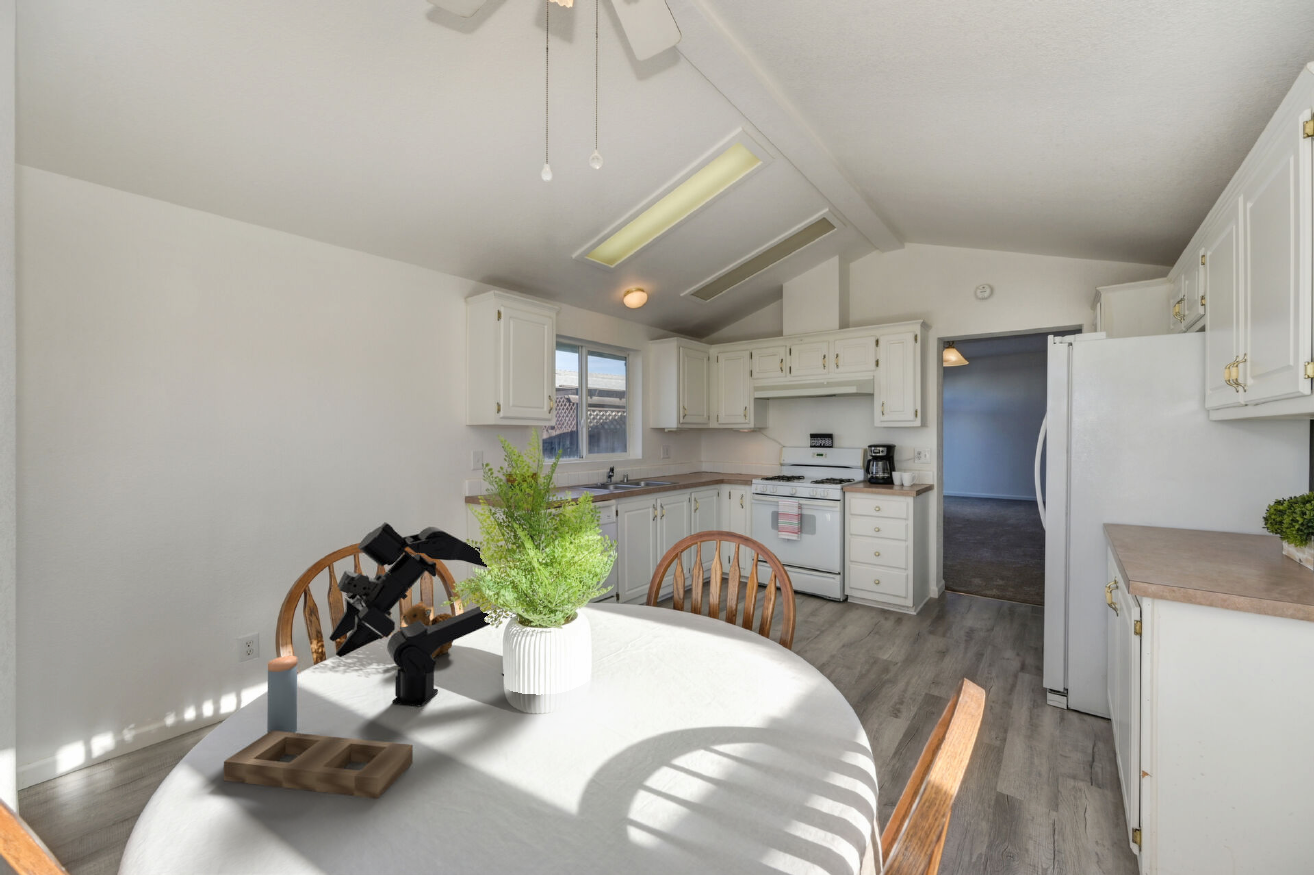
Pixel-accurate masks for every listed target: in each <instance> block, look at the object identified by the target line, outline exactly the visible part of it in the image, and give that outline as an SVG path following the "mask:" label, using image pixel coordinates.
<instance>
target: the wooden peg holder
mask: <svg viewBox="0 0 1314 875" xmlns="http://www.w3.org/2000/svg"><path fill="white" fill-rule="evenodd" d="M413 748H414V746H413V744H410V743H409V744H408V743H406V744H405V743H398V742H388V741H379V740H369V739H367V740H366V739H360V738H349V737H339V736H328V735H318V734H309V733H299V732H295V733H291V732H281V731H270V732H269V733H267V732H266V734H264V735H262V736H261V737H259V738H258V739H256V740H255V741H253V742H252V743H250V744H249V745H247V746H245V747H244V748H242V749H241V750H239V751H238V752H236V753H234V754H233V755H232V756H230V757H228V758H226V759H225V760H223V781H225V782H233V783H243V784H252V785H260V786H268V787H278V788H284V789H285V788H287V789H292V790H293V789H295V790H303V791H309V792H320V793H330V794H335V795H337V794H338V795H344V796H352V797H353V796H354V797H362V798H371V799H379V798H380V797H381V795H383V794H384V793H385V791H387V790H388V789H389V788H390V787H391V786H392V785H393V784H394V783H395V781H397V780H398V778H399V777H400V776H402V774H404V773H405V771H406V770H407V769H409V767H410V766H411V765H412V764H413V756H414V755H413V751H414V750H413ZM285 755H288V756H296V757H295V758H294V759H293V760H291V761H290V762H285V761H278V760H280V759H281V758H282V757H284V756H285ZM352 762H353V763H363V764H366V765H365V766H363V768H361V769H360V770H359V769H358V770H357V769H348V768H345V767H346V766H347V765H349V763H352Z"/></svg>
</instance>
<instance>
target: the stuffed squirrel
mask: <svg viewBox="0 0 1314 875" xmlns="http://www.w3.org/2000/svg"><path fill="white" fill-rule="evenodd" d="M431 614H432V609H431V608H429V607H428V606H427V605H426V604H424V602H423V601H422V600H420V601H419V602H418V603H416V604H413V605H412V606H410V607H409V608H408V609H407V610H406V611H405V612H404V613H403V615H402V617H401V619H400V624H402V623H404V625H406V626H409V625H411V624H412V623H414V622H416V621H419V620H420V621H421V622H422V623H423V624H424V625H425V626H431V625H435V624H437V623H440V622H442V621H444V620H447V619H449V618H452V617H454V616H455V615H452V614H451V613H447V612H446V613H445V612H443V613H440V614H437V615H435V617H433V618H432V619H431ZM398 631H400V629H397V631H396V632H398ZM453 643H454V641H451V642H449V643H447V644H444V645H442V646H441V647H439V648H438V649H437V650H436V651H435V652H434V653H433V654H432V655H431V656H432V657H433V658H434V659H435V657H436V655H437V656H442V655H444V654H445V653H446V652H449V650H450V649H451V648H452V646H453ZM443 653H444V654H443ZM441 654H442V655H441Z"/></svg>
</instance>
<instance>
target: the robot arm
mask: <svg viewBox="0 0 1314 875" xmlns="http://www.w3.org/2000/svg"><path fill="white" fill-rule="evenodd" d="M467 543H468V542H466V541H463V540H462V539H459V538H458V537H456V536H454V535H451V534H449V533H448V532H446V531H444V530H442V529H440V528H438V527H436V526H435V527H434V526H428V527H426V528H424V529H423V530H421V531H420V532H419V533H416V534H411V535H407V536H402V535H401V534H399V533H398V532H397V531H396V530H395V529H394V528H393V526H392V525H390V524H389V523H388V522H386V521H385V522H384V523H382V524H381V525H380V526H378V527H376V528H375V529H373V530H372V531H371V532H368V533H367V534H366V535H365V537H363V538H362V540H361V541H360V542H359V544H358V546H357V549H358V550H360V552H362V553H363V554H364V555H365V556H367V557H368V558H370V559H371V560H372V561H373V562H375V563H376V564H377V565H378V566H380V567H384V566H386V565H387V566H388V567H389V566H390V567H389V568H388V569H387V571H386V572H384V574H382V573H378V574H377V575H376V576H375V577H373V578H372V577H370V576H368V575H365V574H362V573H356V572H354V571H353V572H352V571H350V570H345V571H344V572H343V574H342V576H341V578H340V580H339V582H338V584H337V588H339V589H338V590H339V591H340V592H342V593H344V594H345V593H346V594H345V596H346V597H344V603H345V604H344V605H345V608H344V612H343V613H342V616H341V617H340V619H339V621H337V622H338V623H337V624H336V626H335V628H334V629H333V631H332V632H331V633H330V636H329V637H328V638H329V640H330V641H332V642H335V641H337V640H339V639H340V638H342V637H344V636H345V635H347V634H349V635H348V636H347V637H346V638H345V640H344V641H343V643H342V644H341V645H340V646H339V648H338V649H337V651H336V652H335V655H336V656H337V657H338V658H342V657H344V656H347V655H348V654H350V653H352V652H354V651H356V650H358V649H360V648H362V647H364V646H367V645H369V644H371V643H373V642H376V641H378V640H382V639H384V637H385V638H389V636H390V635H391V634H392V633H393V632H394V631H395V630H396V623H395V621H394V620H393V618H392V617H391V615H392V614H393V613H392V612H391V610H392V609H393V608H394V607H395V606H396V604H397V603H398V602H399V601H400V600H401V599H402V600H403V601H404V600H406V599H407V598H408V594H407V593H408V592H409V591H410V589H412V587H413V586H414V585H415V584H416V583H417V582H418V581H419V580H420V579H421V577H423V575H424V574H426V573H427V574H429V575H430V576H432V577H433V578H435V577H436V576H437V563H436V562H435V561H434V560H441V561H460V562H461V561H462V562H466V563H469V564H473V565H477V566H480V567H484V568H487V565H486V564H484V562H482V559H481V558H480V553H479V552H478V551H477V550H475V548H477V549H479V551H480V547H481V546H479V547H475V548H473V547H471V546H470V545H468V544H467ZM406 548H409V549H410V550H411V551H412V552H414V553H415V554H414V555H412V554H411V553H409V552H408V551H407V550H406ZM421 554H423V555H425V556H426V557H428V558H430V559H433V560H432V561H428V560H427V559H426V558H425V557H424V556H422V555H421ZM479 606H480V605H479ZM479 606H477V607H475V608H472V609H468V610H467V611H464V612H462V613H459V614H457V615H453V616H454V617H452V618H449V619H447V620H444V621H442V622H440V623H437V624H435V625H431V626H425V625H424V624H423V623H422V622H421V621H420V620H419V621H416V622H414V623H412V624H411V625H409V626H407V625H406V626H399V629H398V630H400V631H398V630H397V631H398V632H397V631H396V632H395V633H393V634H392V635H391V636H390V638H389V640H388V641H387V648H386V650H387V652H388V654H389V656H390V658H391V659H392V661H393V662H394V664H395V665H396V666H397V667H399V668H397V670H396V671H397V672H396V675H395V677H394V678H395V683H394V687H395V688H394V689H395V690H394V694H395V695H394V696H395V698H393V700H392V701H391V704H393V705H394V704H395V705H404V706H405V705H407V706H414V707H416V706H417V707H421V706H423V705H425V704H426V703H427V702H428V701H429V700H430V699H431V698H433V697H434V696H435V695H436V694H437V693H438V692H439V689H438V688H435V667H436V665H437V661H436V659H435V657H434V658H433V657H432V656H431V655H432V654H433V653H434V652H435V651H436V650H437V649H438V648H439V647H441V646H442V645H444V644H447V643H449V642H451V641H453V642H454V641H455V640H458V639H460V638H464V636H467V635H470V634H472V633H474V632H476V631H479V630H480V629H484V628H485V627H487V626H490V625H491V624H490V623H486V622H485V621H484V618H485V617H486V616H488V615H489V614H487V613H483V612H482V611H481V610H480V607H479Z"/></svg>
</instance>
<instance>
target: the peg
mask: <svg viewBox="0 0 1314 875" xmlns="http://www.w3.org/2000/svg"><path fill="white" fill-rule="evenodd" d="M266 720H267V722H266V724H267V727H266V728H267V729H266V730H267V732H266V734H267V733H269V732H270V731H281V732H291V733H297V730H298V656H295V655H294V656H293V655H288V656H287V655H285V656H280V657H276V658H274V659H271V660H270V661H268V662H267V719H266Z"/></svg>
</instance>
